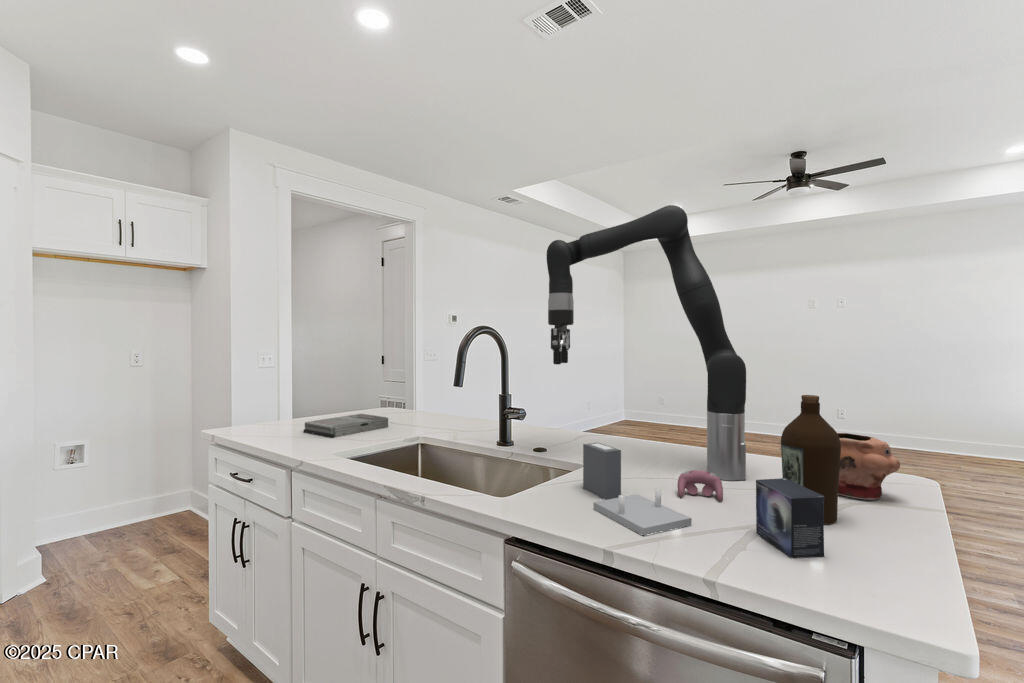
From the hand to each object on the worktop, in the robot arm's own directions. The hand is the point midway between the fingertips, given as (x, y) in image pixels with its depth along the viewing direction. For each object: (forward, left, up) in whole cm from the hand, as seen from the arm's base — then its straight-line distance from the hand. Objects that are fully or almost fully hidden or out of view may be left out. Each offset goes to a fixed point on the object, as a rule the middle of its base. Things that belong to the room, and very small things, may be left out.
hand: (560, 363), depth 145 cm
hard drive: (+93, -21, -30) cm, 100 cm away
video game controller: (-38, +20, -30) cm, 52 cm away
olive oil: (-59, +26, -30) cm, 71 cm away
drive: (-16, +25, -29) cm, 42 cm away
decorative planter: (-71, +6, -30) cm, 77 cm away
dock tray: (-26, +38, -29) cm, 54 cm away
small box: (-52, +43, -30) cm, 74 cm away
